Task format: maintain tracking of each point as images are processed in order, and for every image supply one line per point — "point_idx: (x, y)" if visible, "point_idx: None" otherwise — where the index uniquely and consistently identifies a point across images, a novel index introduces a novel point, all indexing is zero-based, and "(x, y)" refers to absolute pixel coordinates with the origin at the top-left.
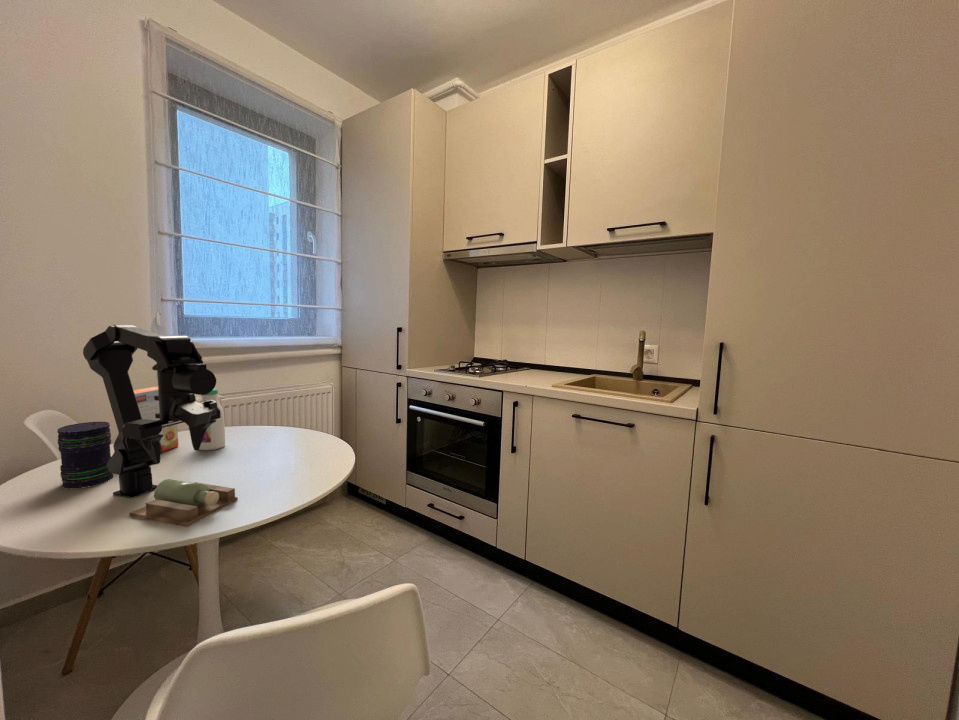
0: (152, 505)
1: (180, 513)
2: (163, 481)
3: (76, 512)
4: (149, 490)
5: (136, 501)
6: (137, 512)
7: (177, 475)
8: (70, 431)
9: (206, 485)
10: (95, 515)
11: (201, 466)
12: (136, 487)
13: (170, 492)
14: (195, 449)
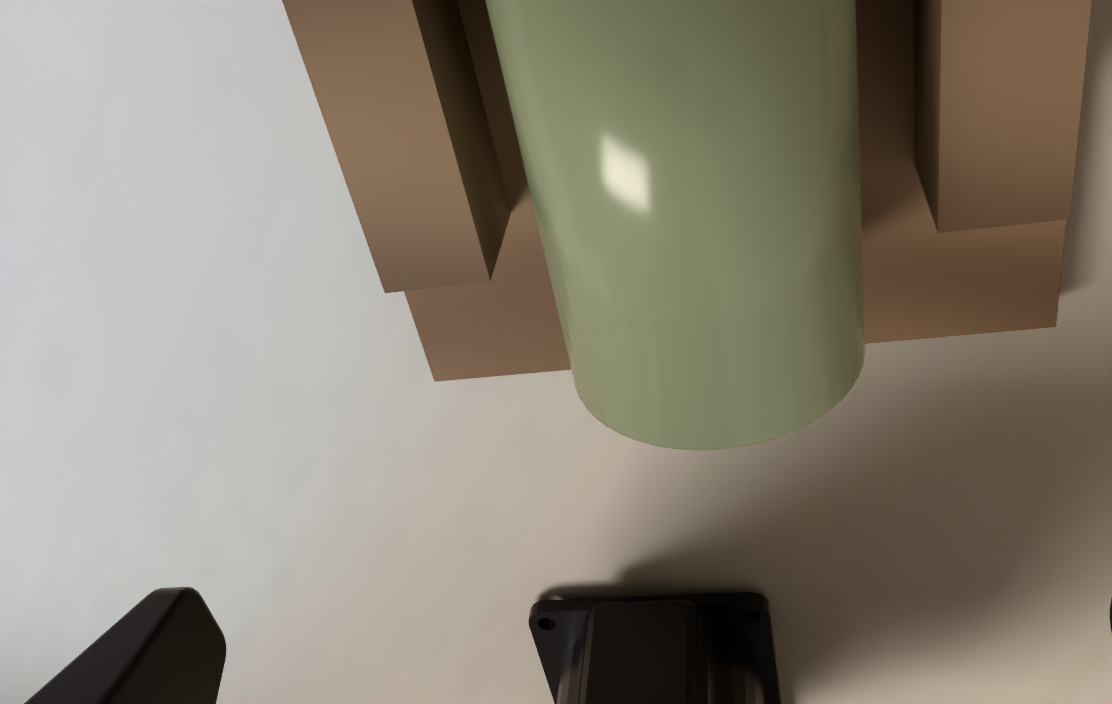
0: (1072, 102)
1: None
2: (752, 426)
3: (1089, 681)
4: (614, 602)
5: (785, 521)
6: (1028, 263)
7: (318, 677)
8: None
9: (345, 67)
10: (1101, 544)
11: None
12: (712, 669)
13: (846, 132)
14: (207, 631)
